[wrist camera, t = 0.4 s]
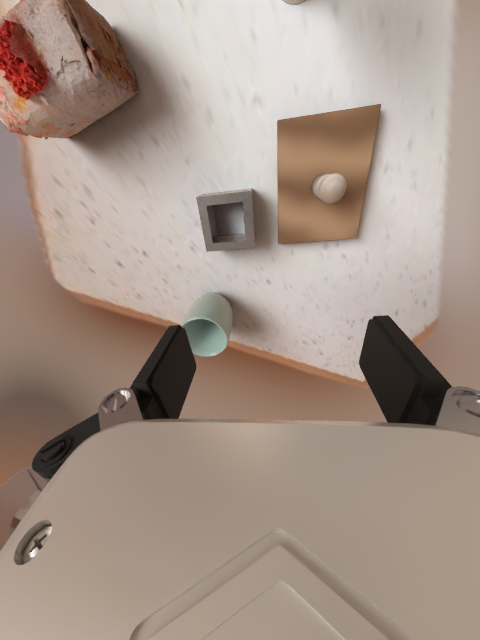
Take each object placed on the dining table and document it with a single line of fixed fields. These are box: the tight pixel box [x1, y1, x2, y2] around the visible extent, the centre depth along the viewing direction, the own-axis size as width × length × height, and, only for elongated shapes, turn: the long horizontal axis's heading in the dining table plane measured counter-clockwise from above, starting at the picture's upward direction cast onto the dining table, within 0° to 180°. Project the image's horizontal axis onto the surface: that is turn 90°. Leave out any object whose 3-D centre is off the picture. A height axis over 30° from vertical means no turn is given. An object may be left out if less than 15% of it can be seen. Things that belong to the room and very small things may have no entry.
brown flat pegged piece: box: [277, 104, 381, 244], centre depth 26 cm, size 14×11×8 cm
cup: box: [180, 293, 233, 356], centre depth 38 cm, size 8×8×10 cm
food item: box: [0, 0, 140, 139], centre depth 22 cm, size 14×8×10 cm, turn 111°
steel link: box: [196, 189, 255, 251], centre depth 31 cm, size 7×7×4 cm
